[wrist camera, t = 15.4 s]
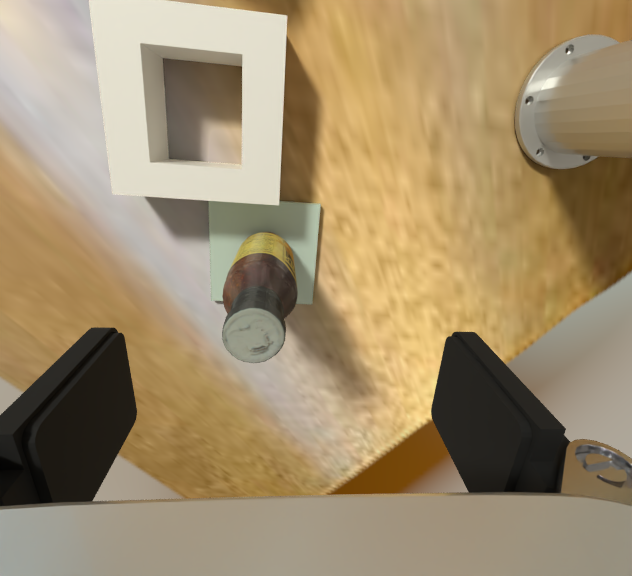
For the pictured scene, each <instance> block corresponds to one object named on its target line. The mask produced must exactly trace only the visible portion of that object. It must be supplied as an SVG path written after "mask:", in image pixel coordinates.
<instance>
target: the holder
mask: <svg viewBox="0 0 632 576" xmlns="http://www.w3.org/2000/svg"><path fill="white" fill-rule="evenodd" d="M89 7H90V15H91V23H92V32H93V40H94V48H95V56H96V64H97V73H98V81H99V89H100V97H101V106H102V114H103V122H104V130H105V138H106V147H107V155H108V163H109V171H110V180H111V188H112V194H116V195H131V196H146V197H161V198H176V199H191V200H205V201H220V202H235V203H250V204H265V205H279V198H280V175H281V152H282V129H283V106H284V83H285V59H286V36H287V15H280V14H272V13H264V12H256V11H247V10H239V9H231V8H223V7H215V6H207V5H198V4H190V3H182V2H174V1H166V0H89ZM163 58H167V59H176V60H185V61H195V62H204V63H214V64H223V65H232V66H242V164H229V163H216V162H203V161H191V160H178V159H169V149H168V133H167V117H166V102H165V86H164V70H163Z"/></svg>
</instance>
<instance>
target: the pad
mask: <svg viewBox="0 0 632 576" xmlns="http://www.w3.org/2000/svg"><path fill="white" fill-rule="evenodd" d="M208 205H209V241H210V278H211V301H223V297H222V295H223V287H224V284H225V281H226V278H227V274H228V272H229V270H230V267H231V265H232V263H233V261H234V259H235V256H236V254H237V252H238V250H239V248H240V246H241V244H242V243H243V242H244V241H245V240H246V239H247V238H248V237H249V236H251V235H254V234H257V233H262V232H272V233H274V234H276V235H278V236H280V237H281V238H283V239H284V240H285V241H286V242H287V243H288V244H289V246H290V248H291V250H292V252H293V257H294V264H295V272H296V281H297V290H298V296H297V302H296V304H312V301H313V289H314V277H315V265H316V254H317V242H318V230H319V218H320V206H321V205H320V204H319V203H304V202H290V201H279V205H265V204H250V203H235V202H220V201H208Z"/></svg>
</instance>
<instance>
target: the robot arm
mask: <svg viewBox="0 0 632 576" xmlns="http://www.w3.org/2000/svg"><path fill="white" fill-rule="evenodd" d="M525 100H526V103H525ZM515 130H516V134H517V139H518V141H519V143H520V146H521V148H522V150H523V151H524V152H525V153H526V155H527V156H528V157H529V158H530V159H531V160H533V161H534V162H535V163H537V164H539V165H542V166H544V167H548V168H553V169H570V168H575V167H579V166H582V165H585V164H587V163H589V162H590V161H592V160H594V159H596V158H597V157H599V156H601V157H618V158H632V40H629V41H626V42H622V43H619V42H618V41H616V40H614V39H612V38H611V37H607V36H603V35H585V36H580V37H576V38H573V39H571V40H568V41H565V42H563V43H562V44H560V45H558V46H556V47H554V48H553V49H552V50H550V51H549V52H548V53H547V54H546V55H544V56H543V57H542V58H541V59H540V60H539V62H538V63H537V64H536V65H535V66H534V67H533V69H532V70H531V72H530V73H529V75H528V76H527V78H526V80H525V82H524V84H523V86H522V88H521V90H520V93H519V97H518V100H517V103H516V110H515ZM536 152H537V153H536ZM431 413H432V419H433V421H434V423H435V425H436V428H437V430H438V432H439V434H440V435H441V437H442V439H443V441H444V444H445V446H446V447H447V450H448V452H449V454H450V455H451V458H452V459H453V462H454V464H455V465H456V467H457V470H458V471H459V474H460V476H461V478H462V479H463V481H464V484H465V486H466V488H467V490H468V491H469V493H412V494H411V493H410V494H354V495H308V496H265V497H224V498H190V499H156V500H124V501H123V500H122V501H92V500H93V499H94V497H95V495H96V493H97V491H98V489H99V487H100V486H101V484H102V482H103V480H104V478H105V477H106V475H107V473H108V471H109V469H110V467H111V465H112V464H113V462H114V460H115V458H116V456H117V454H118V453H119V451H120V449H121V447H122V445H123V443H124V442H125V440H126V438H127V436H128V434H129V432H130V430H131V429H132V427H133V425H134V423H135V420H136V415H137V408H136V402H135V397H134V391H133V385H132V379H131V373H130V367H129V361H128V355H127V349H126V344H125V338H124V335H123V334H122V333H118V331H117V330H116V329H115V328H91V329H89V330H88V331H87V332H86V333H85V334H84V335H83V336H82V337H81V338H80V339H79V340H78V341H77V342H76V343H75V344H74V345H73V346H72V347H71V348H70V349H69V350H67V351H66V352H65V353H64V354H63V355H62V356H61V357H60V358H59V359H58V360H57V361H56V362H55V363H54V364H53V365H52V366H51V367H50V368H49V369H48V370H47V371H46V372H45V373H44V374H43V375H42V376H41V377H40V378H38V379H37V380H36V381H35V382H34V383H33V384H32V385H31V386H30V387H29V388H28V389H27V390H26V391H25V392H24V393H23V394H22V395H21V396H20V397H19V398H18V399H17V400H16V401H15V402H14V403H13V404H12V405H11V406H9V407H8V408H7V409H6V411H4V412H3V413H2V414H1V415H0V576H632V459H631V458H630V457H628V456H627V455H625V454H623V453H622V452H620V451H619V450H617V449H615V448H613V447H611V446H608V445H606V444H603V443H600V442H597V441H593V440H587V439H580V440H574V441H572V442H570V441H569V440H568V439H567V438H566V437H565V436H564V433H565V430H566V429H565V428H564V426H562V424H561V423H560V422H559V421H558V420H557V419H556V418H555V417H554V416H553V415H552V414H551V413H550V412H549V410H547V408H546V407H545V406H544V405H543V404H542V403H541V402H540V401H539V400H538V399H537V398H536V397H535V396H534V394H533V393H532V392H531V391H530V390H529V389H528V388H527V387H526V386H525V385H524V384H523V383H522V382H521V381H520V380H519V378H518V377H516V375H515V374H514V373H513V372H512V371H511V370H510V369H509V368H508V367H507V366H506V365H505V364H504V363H503V361H502V360H501V359H500V358H499V357H498V356H497V355H496V354H495V353H494V352H493V351H492V350H491V349H490V348H489V347H488V345H487V344H486V343H485V342H484V341H483V340H482V339H481V338H480V337H479V336H478V335H477V334H476V333H475V332H454V333H453V334H452V336H451V337H447V339H446V342H445V347H444V351H443V356H442V361H441V366H440V370H439V375H438V380H437V385H436V389H435V394H434V399H433V404H432V409H431Z"/></svg>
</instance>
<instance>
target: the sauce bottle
mask: <svg viewBox="0 0 632 576" xmlns="http://www.w3.org/2000/svg"><path fill="white" fill-rule="evenodd" d="M297 296H298V290H297V281H296V272H295V264H294V257H293V252H292V250H291V248H290V246H289V244H288V243H287V242H286V241H285V240H284V239H283V238H281V237H280V236H278V235H276V234H274V233H272V232H262V233H257V234H254V235H251V236H249V237H248V238H247V239H246V240H245V241H244V242H243V243H242V244H241V246H240V248H239V250H238V252H237V254H236V256H235V259H234V261H233V263H232V265H231V267H230V270H229V272H228V274H227V278H226V281H225V284H224V287H223V295H222V297H223V302H224V307H225V309H226V311H227V313H228V315H227V317H226V320H225V322H224V326H223V332H222V335H223V343H224V345H225V347H226V349H227V350H228V351H229V352H230V353H231V354H232V355H233V356H234V357H235V358H237V359H239V360H241V361H244V362H249V363H260V362H264V361H266V360H268V359H270V358H272V357H273V356H274V355H276V354H277V353H278V352H279V351H280V349H281V348H282V346H283V344H284V341H285V332H286V325H285V321H284V318H285V317H287V316H288V315H289V314H290V313H291V311H292V310H293V308H294V307H295V304H296V302H297Z"/></svg>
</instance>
